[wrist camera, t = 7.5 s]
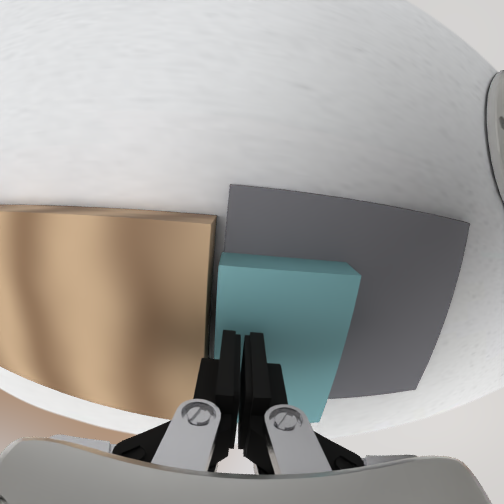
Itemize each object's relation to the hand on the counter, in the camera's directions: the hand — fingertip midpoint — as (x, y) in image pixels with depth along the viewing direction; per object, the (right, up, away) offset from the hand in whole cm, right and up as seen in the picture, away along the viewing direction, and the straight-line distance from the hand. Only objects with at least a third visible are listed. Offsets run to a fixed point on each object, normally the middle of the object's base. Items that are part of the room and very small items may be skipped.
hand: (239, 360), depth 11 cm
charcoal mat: (+6, +1, +3) cm, 7 cm away
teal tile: (+2, 0, +2) cm, 3 cm away
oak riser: (-11, +2, +3) cm, 11 cm away
